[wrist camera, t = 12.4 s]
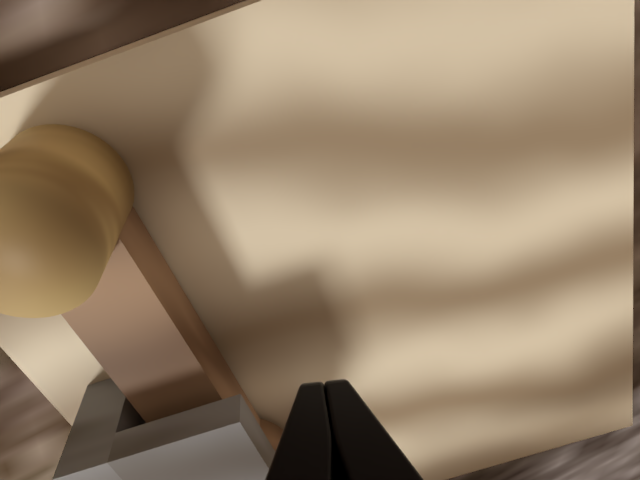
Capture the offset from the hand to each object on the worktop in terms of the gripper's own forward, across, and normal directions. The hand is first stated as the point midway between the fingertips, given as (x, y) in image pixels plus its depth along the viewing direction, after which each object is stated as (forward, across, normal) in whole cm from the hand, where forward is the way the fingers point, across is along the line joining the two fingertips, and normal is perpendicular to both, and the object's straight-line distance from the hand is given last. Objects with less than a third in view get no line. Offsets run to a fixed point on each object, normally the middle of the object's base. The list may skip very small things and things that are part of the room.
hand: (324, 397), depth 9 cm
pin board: (+11, -1, +6) cm, 13 cm away
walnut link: (+9, +5, +6) cm, 12 cm away
